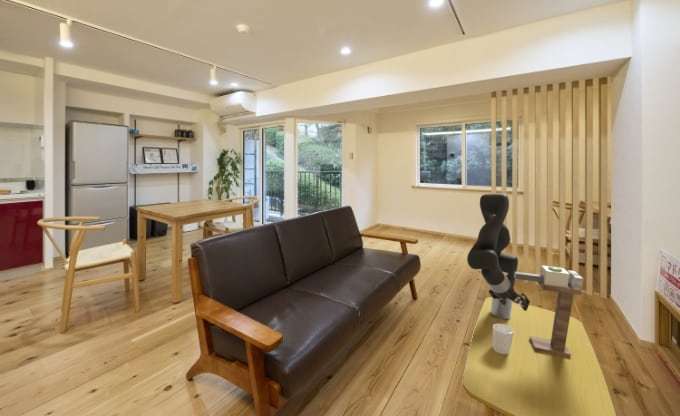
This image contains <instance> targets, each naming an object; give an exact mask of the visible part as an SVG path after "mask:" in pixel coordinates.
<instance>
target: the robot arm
mask: <svg viewBox="0 0 680 416" xmlns="http://www.w3.org/2000/svg"><path fill="white" fill-rule="evenodd" d="M479 207H480V211H481V215H482V218H483V220H484V221H483V222H484V223H485V224H483V225H482V226H481V228H480V229H479V232H478V235H477V239H476V242H475V243H474V244H473V246H472V247H471V248H470V250H469V252H468V253H467V257H466V259H467V260H466V261H467V264H468V266H469V267H470V268H471V269H473V270H480V273H481V275H482V278H483V279H484V280H485V282H486V283H487V285H488V286H489V290H488V293H489V295H490V296H491V297H492V298H491V300H492V302H491V308H490V314H491V315H492V316H493V317H495V318H497V319H501V320H509V319H510V318H511V316H512V307H513V303H514V304H515V305H519V306H520V307H521V308H522V310H523V311H524V312H526V311H528V309H529V306H530V303H531V301H530V300H529V298H528V296H527V295H526V294H525V293H521V294H518V293H517V292H516V291H515V283H516V279H515V278H514V273H515V272H518V266H519V258H518V257H517V256H515V255H512V254H508V253H507V254H506V253H503V251H504V250H505V249H506V248H508V246H509V245H510V243H511V236H510V235H511V234H510V230H509V228H508V227H507V226H506V224H504V223H505V220H506V219H507V215H508V212H509V209H510V199H509V196H508V195H507V194H505V193H485V194H482V195H481V196H480V199H479ZM505 273H507V274H505Z"/></svg>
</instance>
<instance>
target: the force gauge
mask: <svg viewBox="0 0 680 416" xmlns="http://www.w3.org/2000/svg"><path fill="white" fill-rule="evenodd" d="M514 278H515V280H520V281H528V282H533V283H534V282H535V283H538V282H542V283H544V284H545V285H551V286H558V287H566V288H567V287H568V280H569V273H568V272H567V270H566V269H565V268H563V267H558V266H553V265H551V266H550V265H541V268H540V273H529V272H522V271H517V272H515V273H514Z"/></svg>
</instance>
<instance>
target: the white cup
mask: <svg viewBox="0 0 680 416" xmlns="http://www.w3.org/2000/svg"><path fill="white" fill-rule="evenodd" d="M514 331H515V330H514V329H513V328H512V327H511V326H510V325H507V324H504V323H494V324H492V334H491V335H492V336H491V338H492V339H491V342H492V343H491V348H492V350H493V351H494V352H495V353H497V354H501V355H508V354H509V353H510V351H511V347H512V342H513V337H514Z"/></svg>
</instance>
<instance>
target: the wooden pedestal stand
mask: <svg viewBox="0 0 680 416" xmlns="http://www.w3.org/2000/svg"><path fill="white" fill-rule="evenodd" d="M566 271H567V272H568V273H569V280H568V287H567V288H566V287H558V286H551V285H545V284H544V283H542V282H537V283H538V285H539V286H540V287H541V289H542V290H543V291H549V292H555V293H557V297H556V299H557V300H556V305H555V311H554V317H553V319H554V320H553V325H552V331H551V332H552V333H551V336H550V337H551V339H548V338H543V337H537V336H530V335H529V341H530V343H531V345H532V348H533V349H534V351H535V352H539V353H545V354H550V355H556V356H561V357H565V358H571V357H572V354H571V352H570V351H569V349H568V346H566V345H567V337H568V330H569V325H570V318H571V313H572V306H573V300H574V295H577V296H581V295H582V290H583V284H584V278H583V277H582V276H581V275H580V274H579V273H578V272H576V271H575V270H569V269H568V270H566Z"/></svg>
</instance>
